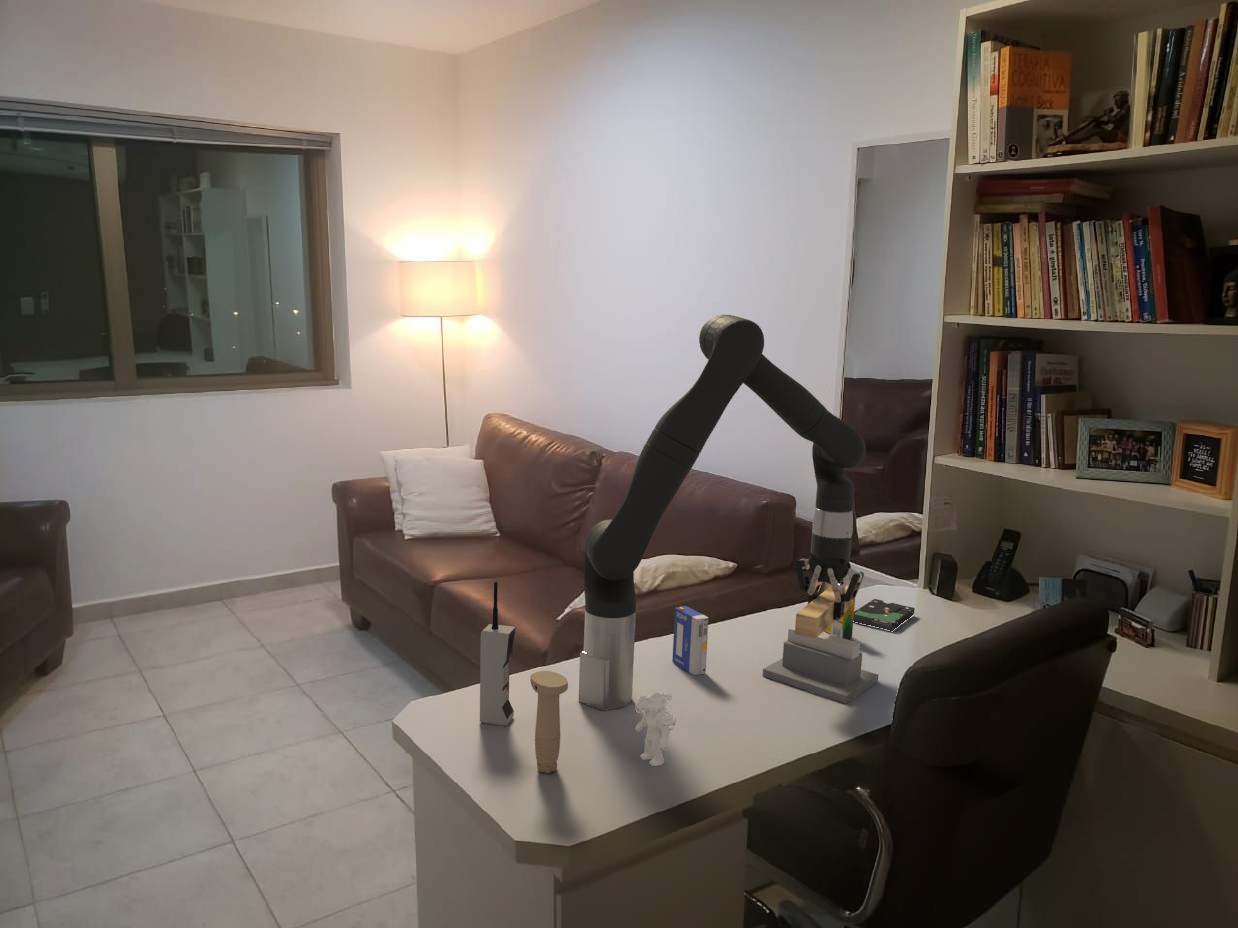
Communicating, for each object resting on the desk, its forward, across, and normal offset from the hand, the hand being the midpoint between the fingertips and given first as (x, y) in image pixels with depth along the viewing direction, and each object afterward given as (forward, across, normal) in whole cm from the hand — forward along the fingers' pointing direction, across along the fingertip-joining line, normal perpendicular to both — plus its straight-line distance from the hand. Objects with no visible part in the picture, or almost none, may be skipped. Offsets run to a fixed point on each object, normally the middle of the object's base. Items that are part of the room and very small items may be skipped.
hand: (825, 615), depth 181 cm
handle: (+13, -14, -63) cm, 66 cm away
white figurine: (+13, -4, -49) cm, 51 cm away
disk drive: (+14, -6, +43) cm, 46 cm away
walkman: (+13, -22, -14) cm, 29 cm away
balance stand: (+13, 0, 0) cm, 13 cm away
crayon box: (+13, -9, +25) cm, 30 cm away
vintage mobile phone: (+13, -32, -57) cm, 67 cm away
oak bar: (+1, 0, 0) cm, 1 cm away
